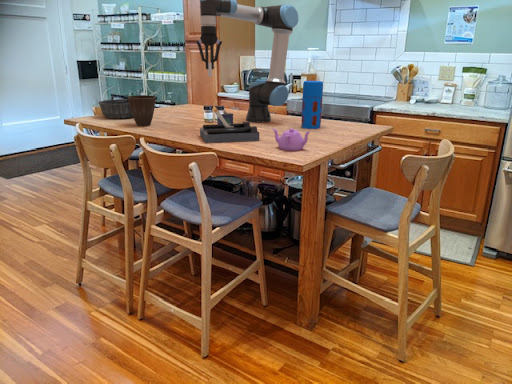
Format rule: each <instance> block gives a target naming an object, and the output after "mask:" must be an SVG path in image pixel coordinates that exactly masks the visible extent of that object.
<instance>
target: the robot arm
mask: <svg viewBox="0 0 512 384" xmlns="http://www.w3.org/2000/svg"><path fill="white" fill-rule="evenodd" d="M199 5H200V6H199V8H200V10H199V13H200V14H199V15H200V25H201V26H200V37H199V39H198V40H196V41H195V44H196V46H198V51H199V55H200V58H201V61H202V62H204V63H205V69H206V70H207V77H213V76H212V75H213V71H212V70H214V66H215V65H214V64H215V63H216V62H217V61H218V58H219V53H220V48H221V45H222V44H223V41H222V40H220V39H219V38H218V36H217V35H218V34H217V32H218V31H217V26H216V25H217V17H221V18H228V19H232V20H233V19H234V20H238V21H246V22H252V23H253V24H254V25H256V26H261V27H265V28H269V29H270V28H271V32H273V39H272V45H271V46H272V47H271V54H270V55H271V57H270V64H269V73H268V78H266V80H265V81H264V80H263V81H252V82H250V83H249V85H248V110H247V113H246V116H245V118H246V120H245V122H248V121H249V122H250V123H251V122H252V123H267V122H268V123H269V122H271V121H272V117H271V112H270V110H269V106H272V107H280V106H283V105H284V104H285V103H286V102H287V100H288V98H289V93H290V92H289V89H288V87H287V86H286V85H287V83H286V81H285V72H286V63H287V56H288V55H287V54H288V48H289V40H290V39H289V38H290V35H291V34H292V33H293V29H294V28H295V27H296V26H297V24H298V23H299V13H298V10H297V9H296V7H295V6H294V5H292V4H285V3H284V4H279V5H278V4H277V5H269V6H261V5H259V6H258V5H257V6H256V7H255V6H249V5H245V4H239V3H238V2H237V0H199ZM202 44H203V46H204V51H203V48H202ZM215 44H216V48H215V52H214V47H215ZM214 53H215V54H214ZM209 54H210V55H209ZM204 55H205V56H204ZM209 56H210V61H209Z"/></svg>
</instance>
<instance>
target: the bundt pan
mask: <svg viewBox="0 0 512 384" xmlns="http://www.w3.org/2000/svg"><path fill="white" fill-rule="evenodd" d="M97 104H98V105H99V107H100V111H101V113H102V115H103V116H104V117H106V118H108V119H117V120H120V119H126V118H127V119H131V118H133V115H132V112H131V109H130V105H129V101H128V98H118V99H117V98H116V99H107V100H106V99H105V100H102V101H98V102H97Z"/></svg>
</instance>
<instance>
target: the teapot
mask: <svg viewBox="0 0 512 384" xmlns="http://www.w3.org/2000/svg"><path fill="white" fill-rule="evenodd" d="M272 130H273V133H274V139H275V142H276V143H277V145H278V148H280V150H283V151H285V152H286V151H287V152H297V151H301V150H302V149H303V148H305V146H306V144H307V143H308V139H309V134H310V133H311V130H310V131H306V132H305V134H304V138H303V136H302V134H301V132H300V131H299V130H297V129H294V128H289V129H288V130H284V131H283V133H282V134H281V136H279V132H278V130H277V129H275V128H272Z"/></svg>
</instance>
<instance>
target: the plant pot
mask: <svg viewBox="0 0 512 384" xmlns="http://www.w3.org/2000/svg"><path fill="white" fill-rule="evenodd" d="M156 98H157V97H156V95H155V96H154V95H145V94H143V95H138V94H137V95H129V96H127V99H128V101H129V105H130V109H131V112H132V115H133V117H132V118H133V120H134V122H135V124H136V126H137V127H149V126H150V127H151V124H152V121H153V118H154V113H155V108H156V107H155V106H156Z"/></svg>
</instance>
